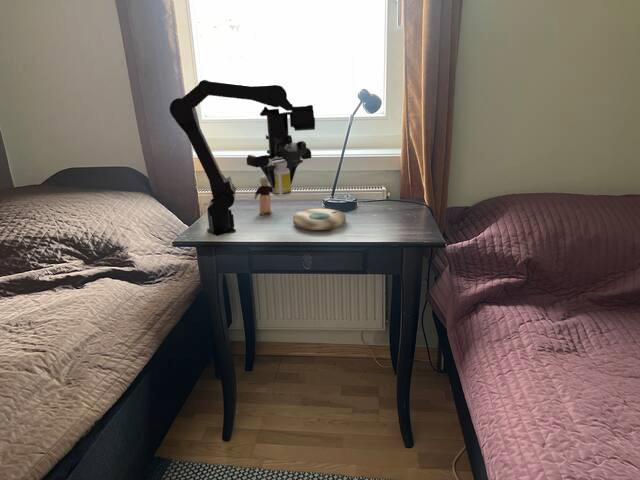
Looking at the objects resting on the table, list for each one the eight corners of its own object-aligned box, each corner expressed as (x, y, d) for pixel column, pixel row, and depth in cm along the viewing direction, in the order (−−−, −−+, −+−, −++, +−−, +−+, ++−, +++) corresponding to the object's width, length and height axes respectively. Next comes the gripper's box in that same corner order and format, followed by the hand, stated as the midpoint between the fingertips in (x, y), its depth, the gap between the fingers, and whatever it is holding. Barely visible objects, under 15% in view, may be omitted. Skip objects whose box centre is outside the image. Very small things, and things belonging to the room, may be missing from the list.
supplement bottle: (292, 192, 137) (290, 159, 134) (289, 197, 132) (287, 163, 129) (274, 192, 138) (272, 159, 134) (271, 197, 133) (268, 163, 129)
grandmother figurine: (260, 216, 149) (257, 178, 145) (253, 213, 152) (250, 176, 148) (279, 211, 154) (277, 174, 149) (273, 209, 157) (270, 172, 152)
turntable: (314, 236, 130) (314, 228, 129) (283, 223, 142) (282, 215, 141) (356, 224, 139) (356, 216, 138) (323, 212, 151) (323, 205, 150)
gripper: (264, 138, 117) (268, 197, 123) (322, 130, 128) (323, 185, 133) (243, 134, 126) (248, 190, 131) (299, 127, 136) (301, 179, 142)
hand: (281, 186), depth 134 cm, fingers closed on supplement bottle, 5 cm apart
